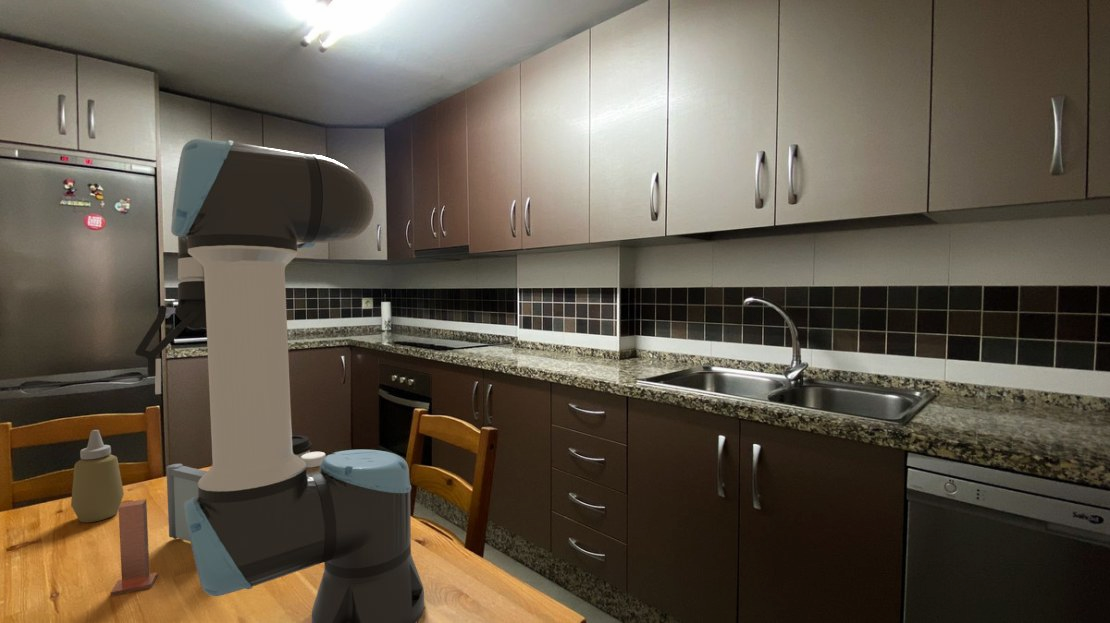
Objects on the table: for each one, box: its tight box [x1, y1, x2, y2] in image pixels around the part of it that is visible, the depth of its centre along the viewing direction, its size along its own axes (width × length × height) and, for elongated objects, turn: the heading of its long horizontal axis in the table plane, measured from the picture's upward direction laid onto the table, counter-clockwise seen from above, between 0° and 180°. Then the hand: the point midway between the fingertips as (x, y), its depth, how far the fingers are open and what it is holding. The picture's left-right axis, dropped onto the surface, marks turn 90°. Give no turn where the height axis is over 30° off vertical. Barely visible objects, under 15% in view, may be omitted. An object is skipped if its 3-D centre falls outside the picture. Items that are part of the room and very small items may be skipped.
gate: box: [166, 463, 208, 542], centre depth 92 cm, size 16×2×14 cm, turn 66°
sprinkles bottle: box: [301, 451, 327, 473], centre depth 103 cm, size 5×5×13 cm
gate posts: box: [109, 498, 158, 597], centre depth 84 cm, size 18×7×16 cm, turn 116°
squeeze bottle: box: [70, 429, 125, 523], centre depth 104 cm, size 8×8×18 cm
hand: (202, 390), depth 99 cm, fingers open, 13 cm apart
